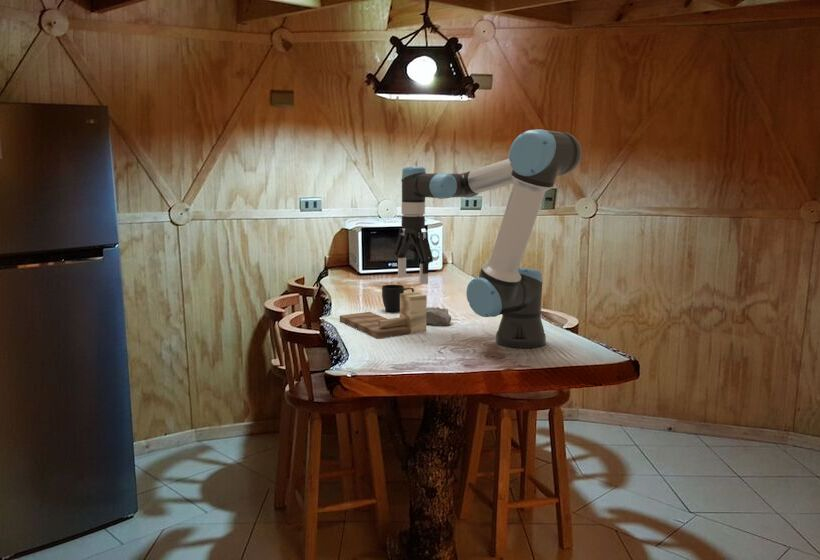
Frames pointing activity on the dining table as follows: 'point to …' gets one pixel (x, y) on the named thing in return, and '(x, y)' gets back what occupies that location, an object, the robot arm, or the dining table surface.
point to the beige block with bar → (409, 313)
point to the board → (373, 325)
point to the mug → (392, 297)
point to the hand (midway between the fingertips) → (412, 280)
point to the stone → (437, 316)
